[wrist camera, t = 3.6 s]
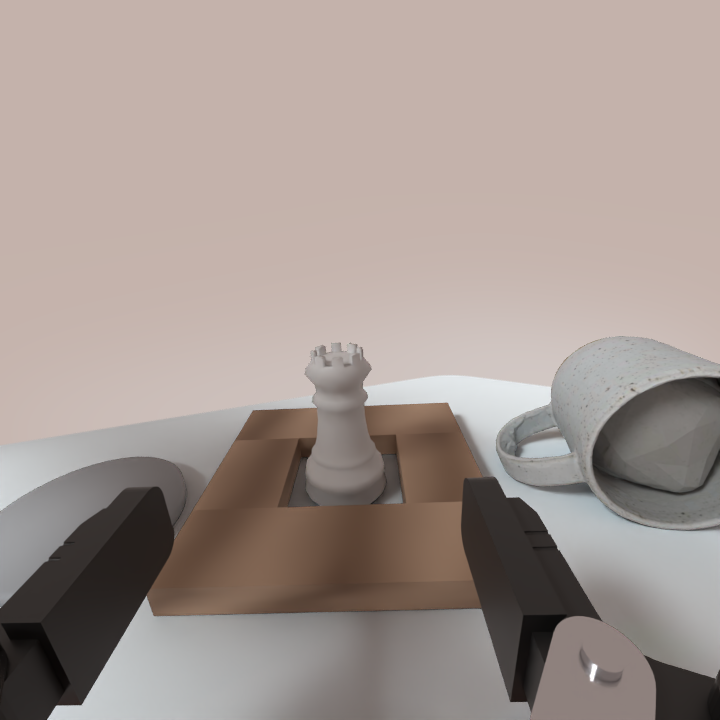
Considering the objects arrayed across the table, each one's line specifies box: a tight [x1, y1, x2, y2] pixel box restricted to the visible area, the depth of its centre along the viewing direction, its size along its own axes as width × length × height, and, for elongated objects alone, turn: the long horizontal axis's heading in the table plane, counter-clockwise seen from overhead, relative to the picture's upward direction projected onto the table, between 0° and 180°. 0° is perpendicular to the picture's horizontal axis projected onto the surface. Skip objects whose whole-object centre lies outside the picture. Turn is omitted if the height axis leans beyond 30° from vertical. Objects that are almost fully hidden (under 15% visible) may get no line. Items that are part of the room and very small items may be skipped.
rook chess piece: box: [305, 343, 387, 506], centre depth 19 cm, size 4×4×8 cm
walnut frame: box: [147, 403, 483, 616], centre depth 20 cm, size 14×14×1 cm
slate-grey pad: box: [0, 457, 186, 607], centre depth 19 cm, size 9×9×1 cm
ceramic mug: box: [496, 336, 720, 530], centre depth 19 cm, size 11×8×8 cm
